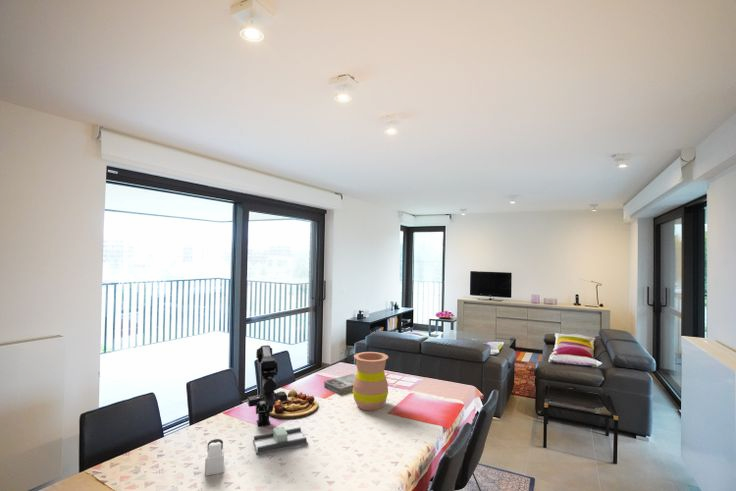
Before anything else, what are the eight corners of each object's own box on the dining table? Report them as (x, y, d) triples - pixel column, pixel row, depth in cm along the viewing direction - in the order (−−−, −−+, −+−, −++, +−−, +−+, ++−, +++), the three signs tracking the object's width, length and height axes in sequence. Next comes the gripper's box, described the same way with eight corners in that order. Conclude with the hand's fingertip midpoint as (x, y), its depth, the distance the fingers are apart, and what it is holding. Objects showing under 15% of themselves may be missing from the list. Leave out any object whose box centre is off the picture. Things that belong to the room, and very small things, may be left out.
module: (273, 437, 181) (273, 428, 181) (283, 435, 184) (283, 426, 184) (276, 445, 174) (277, 435, 174) (287, 443, 176) (287, 433, 177)
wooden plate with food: (287, 425, 198) (287, 410, 199) (253, 408, 219) (254, 394, 219) (329, 408, 223) (329, 394, 224) (295, 394, 243) (295, 381, 244)
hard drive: (369, 386, 259) (370, 380, 260) (339, 395, 242) (339, 388, 242) (353, 379, 273) (353, 373, 273) (323, 387, 256) (323, 381, 256)
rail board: (252, 441, 180) (253, 435, 180) (300, 432, 190) (301, 426, 190) (256, 455, 168) (256, 448, 168) (307, 444, 178) (307, 438, 178)
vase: (388, 399, 236) (389, 352, 237) (387, 414, 214) (387, 362, 215) (354, 397, 238) (355, 351, 239) (349, 411, 216) (350, 360, 217)
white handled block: (206, 466, 158) (206, 438, 159) (223, 463, 161) (224, 436, 161) (204, 476, 152) (205, 446, 152) (223, 472, 154) (224, 444, 155)
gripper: (251, 393, 172) (250, 426, 171) (290, 387, 180) (289, 419, 180) (247, 385, 181) (246, 416, 181) (284, 379, 190) (284, 410, 190)
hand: (267, 415), depth 183 cm, fingers closed
